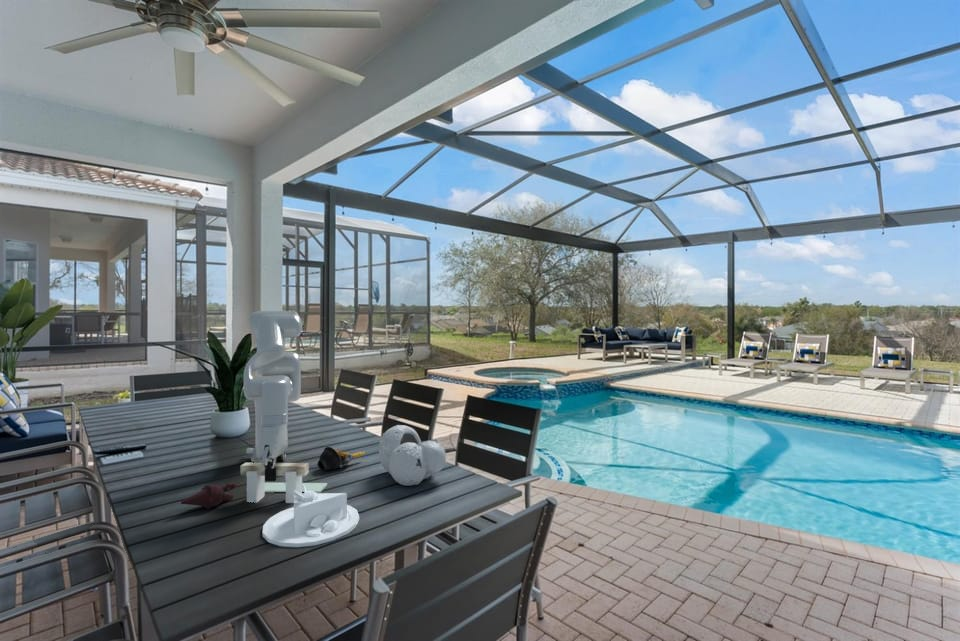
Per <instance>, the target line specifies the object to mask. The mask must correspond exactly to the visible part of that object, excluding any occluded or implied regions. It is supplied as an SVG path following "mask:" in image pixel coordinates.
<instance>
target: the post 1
mask: <svg viewBox="0 0 960 641" xmlns="http://www.w3.org/2000/svg"><path fill="white" fill-rule="evenodd" d="M245 476H246V490H247V492H246V503H247V502H249V503H250V502H251V504H252V503H253V502H254V503H255V504H257V503H258V502H260V500H262V499H263V498H264V497H265V496H266V495H265V494H266V492H265V482H266V481H265V476H258V471H247V472H246V475H245Z"/></svg>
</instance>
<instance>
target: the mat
mask: <svg viewBox="0 0 960 641" xmlns="http://www.w3.org/2000/svg"><path fill="white" fill-rule="evenodd" d="M303 484H304V485H305V487H306V491H314V492H316V493H322V492H323V491H324V489H325V488H327V486H328V482H303ZM245 492H246V493H247V489H246V491H245ZM274 492H286V482H272V481H265V493H274ZM302 492H305V491H304V489H303V486H302Z"/></svg>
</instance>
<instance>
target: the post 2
mask: <svg viewBox="0 0 960 641" xmlns="http://www.w3.org/2000/svg"><path fill="white" fill-rule="evenodd" d="M284 478H285V483H286V493H285V503H286V504H294V495H293V493H292V492H293V491H294V490H295V491H297V492H298V493H300V494H303V493H302V484H301V481H302V482H303V476H296V471H286V472H285V476H284Z"/></svg>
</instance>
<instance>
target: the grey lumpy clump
mask: <svg viewBox="0 0 960 641" xmlns="http://www.w3.org/2000/svg"><path fill="white" fill-rule="evenodd" d="M378 446H379V447H378V456H379V462H380V464H381V466H382V467H383V468H384V470H385V471H386V472H388V473H389V474H390V475H391V477H392V478H393V479H394V481H395V482H396V483H398V484H400V485H401V486H407V487H408V486H409V487H410V486H417V485H419V484H420V483H422V481H423V480H425V479H428V478H430V476H431V475H434V474H436V473H439V472H441V470H443V468H444V467H445V465H446V460H447V454H446V449H445V448H444V447H443V446H442V445H441V444H440V443H438V442H437V441H433V440H430V439H428V441H423V442H422V440H421V438H420V436H419V434H418V432H417V431H416V429H414V428H413V427H411V426H408V425H404V424H403V425H402V424H396V425H393V426H392V427H390V428H388V429H387V430H386V431H385V432H384V433H383V434H382V436H381V437H380V441H379V443H378Z"/></svg>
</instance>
